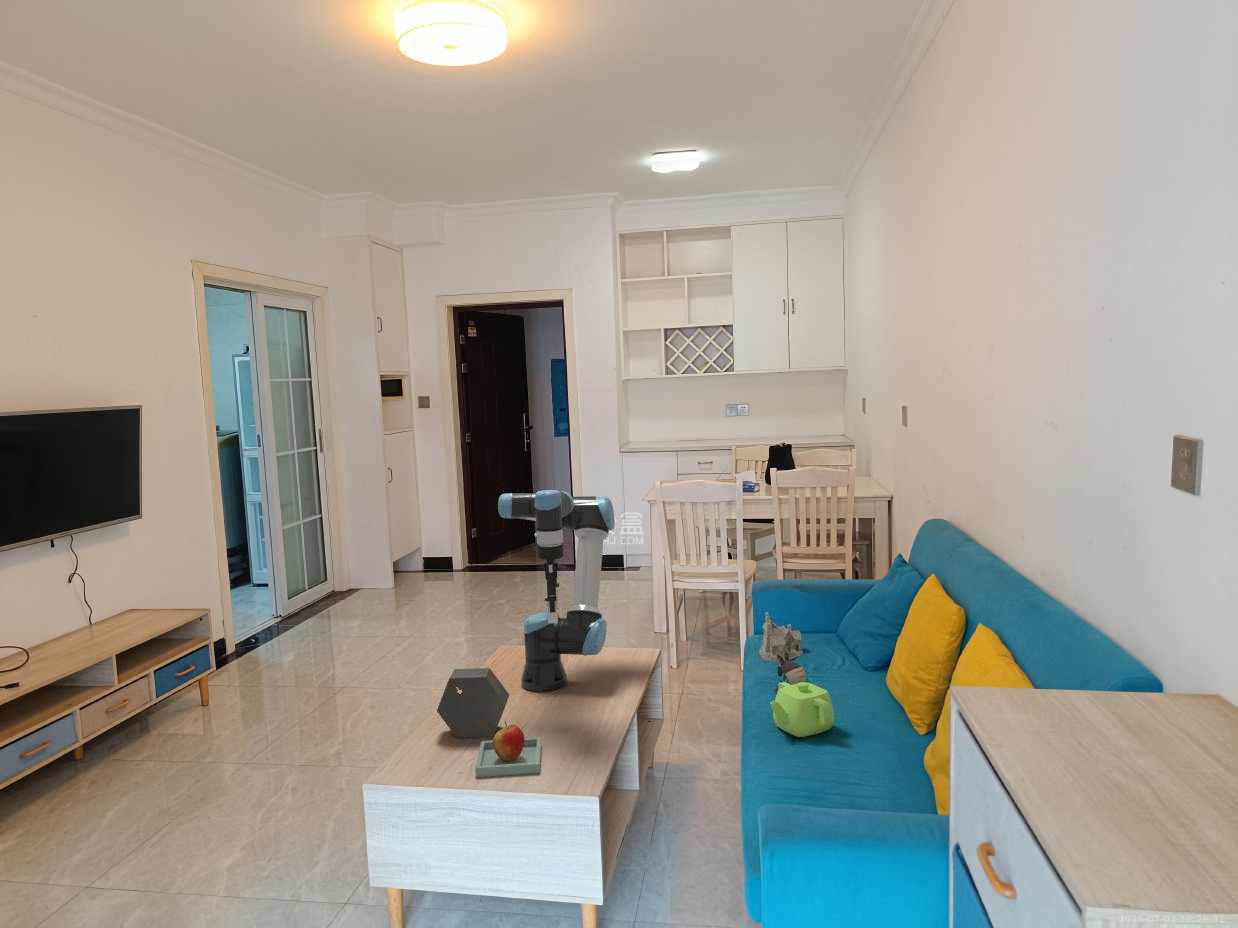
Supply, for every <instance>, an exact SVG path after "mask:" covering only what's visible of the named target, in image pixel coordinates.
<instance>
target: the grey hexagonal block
mask: <svg viewBox="0 0 1238 928" xmlns="http://www.w3.org/2000/svg"><path fill="white" fill-rule="evenodd" d="M459 691H461V693H459ZM509 696H510V693H509V692H508V691H507V689H506V688H505V687H504V685H503V684H502V683H501V681H500V680H499V679H498V677H497V676H496V675H495V673H494V672H493V670H492V669H491V668H490V667H479V668H475V667H474V668H454V670H453V672H452V673H451V675H450V676H449V678H448V681H447V683H446V686H445V689H444V691H443V694H442V696H441V699H440V702H439V704H438V707H437V710H436V712H437V714H438V715H439V716H440V718H441V719H442V720H443V722H444V723H445V724H446V726H447V727H448V728H449V729H450V731H451V733H453V735H454V736H455V738H456V739H477V738H478V739H481V738H494V735H495V734H496V733H497V732H496V731H497V729H498V727H499V723H500V721H501V718H502V716H503V713H504V711H505V708H506V706H507V704H508V703H507V702H508V700H509V698H510V697H509Z"/></svg>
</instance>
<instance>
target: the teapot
mask: <svg viewBox="0 0 1238 928" xmlns="http://www.w3.org/2000/svg"><path fill="white" fill-rule="evenodd" d="M777 687H778V692H777V694H776V695H775V696H776V697H775V700H772V701H770V702H769V705H770V706H771V709H772V711H773V712H772V713H773V714H772V718H773V721H774V723H775V726H776V727H778V728H779V729H781V730H783V731H784V732H787V733H788V734H790V735H792V736H794V737H797V738H807V737H809V736H815V735H817V734H821V733H823V732H826V731H828V730H830V729H832V727H833V725H834V723H835V713H834V708H833V707H834V706H833V701H832V699H831V696H830V694H829V691H828V690H826V689H825V688H823V687H820V686H818V685H815V684H814V683H813V684H811V683H805V682H800V683H797V684H794V685H790V684H788V683H786V681H782V683H781V682H779V683H778V686H777Z"/></svg>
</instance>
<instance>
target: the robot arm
mask: <svg viewBox="0 0 1238 928" xmlns="http://www.w3.org/2000/svg"><path fill="white" fill-rule="evenodd" d="M497 509H498V514H499V516H500V517H501V518H503V519H521V520H527V521H528V520H529V521H534V522H535V530H536V533H534V537H535V538H536V544H537V547H536V551H537V552H536V554H537V559H540V560H541V561H544V560H545V561H546V562H545V563H544V564H543V571H544V574H545V575H544V578H545V580H546V590H547V591H546V592H547V595H546V596H547V597H546V598H544V602H547V603H546V604H547V611H546V612H545V611H544V612H539V613H536V614H532V615H530V616H529V617H527V618H526V619H525V621H524V622H523V623H524V624H523V637H524V654H525V655H524V656H525V664H524V667H523V670H522V674H521V677H520V684H521V687H522V688H523V689H525V690H527V691H531V692H551V691H555V690H558V689H561V688H563V687H565V686H566V684H567V683H568V675H567V673H566V670H565V667H564V664H563V661H562V658H561V657H562V655H571V656H572V655H573V656H574V655H577V656H578V655H580V656H584V657H585V656H596V655H598V654H599V653H601V651H602V650H603V648H604V645H605V641H606V637H607V622H606V620H605V619H604V618H603V614H602V613H601V611H600V610H599V598H600V588H601V586H600V585H601V575H602V562H603V551H604V550H603V549H604V540H605V539H607V538H608V537H609V532H610V531H613V530H614V529H615V524H616V523H615V522H616V521H615V511H614V507H613V503H612V501H611V499H610V498H609V497H607V496H600V495H596V496H595V495H594V496H587V495H586V496H572V495H571V494H570V493H569V492H567V491H563V490H561V491H559V490H557V489H556V490H555V489H546V490H545V489H544V490H538V491H536V492H535V493H528V492H527V493H523V492H522V493H518V492H517V493H512V492H510V493H501V495H500V496H499V498H498V502H497ZM563 530H565V531H567V530H568V531H574V535H575V536H576V537H577V538H578V539H577V550H576V551H577V552H576V562H575V570H574V571H575V572H574V583H573V584H574V585H573V593H572V604H571V607H570V608H569V609H568V610H567V611H566V617H560V614H559V613H558V610H559V595H558V588H560V583H559V582H558V581H557V580H558V571H559V562H556V560H559V559H562V558H563V557H564V545H563V543H564V532H563Z"/></svg>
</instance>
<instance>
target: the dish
mask: <svg viewBox="0 0 1238 928" xmlns="http://www.w3.org/2000/svg"><path fill="white" fill-rule="evenodd" d="M524 739H525V740H524V747H523V750H522V752H521V754H520V755H519V757H518V758H516V759H515V760H513V761H504V760H502V759H500V758H499V757H498V756H497V754H496V752H495V750H494V747H493V740H481V742H480V746H479V751H478V755H477V759H476V764H475V769H474V770H475V778H489V777H501V776H502V777H503V776H505V777H506V776H518V775H530V774H531V775H532V774H540V773H541V758H542V755H541V754H542V738H541V737H539V736H538V737H527V738H525V737H524Z"/></svg>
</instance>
